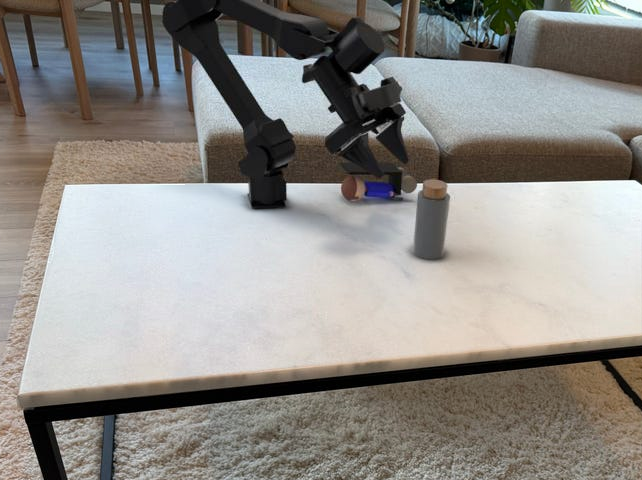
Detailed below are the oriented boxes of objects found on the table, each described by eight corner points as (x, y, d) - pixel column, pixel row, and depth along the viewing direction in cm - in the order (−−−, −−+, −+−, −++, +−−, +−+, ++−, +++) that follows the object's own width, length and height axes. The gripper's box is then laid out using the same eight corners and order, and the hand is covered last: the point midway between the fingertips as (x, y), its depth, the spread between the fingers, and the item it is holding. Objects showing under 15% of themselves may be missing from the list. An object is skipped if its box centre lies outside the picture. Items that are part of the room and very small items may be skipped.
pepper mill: (418, 260, 122) (425, 190, 115) (408, 246, 126) (414, 178, 119) (447, 258, 124) (456, 189, 116) (437, 244, 128) (445, 177, 121)
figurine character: (401, 196, 149) (334, 193, 142) (407, 162, 145) (339, 157, 138) (413, 208, 144) (345, 206, 137) (420, 173, 140) (350, 169, 133)
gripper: (342, 70, 104) (401, 159, 108) (400, 53, 119) (450, 132, 122) (299, 112, 111) (356, 194, 114) (358, 91, 125) (407, 165, 129)
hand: (395, 169), depth 120 cm, fingers open, 9 cm apart
